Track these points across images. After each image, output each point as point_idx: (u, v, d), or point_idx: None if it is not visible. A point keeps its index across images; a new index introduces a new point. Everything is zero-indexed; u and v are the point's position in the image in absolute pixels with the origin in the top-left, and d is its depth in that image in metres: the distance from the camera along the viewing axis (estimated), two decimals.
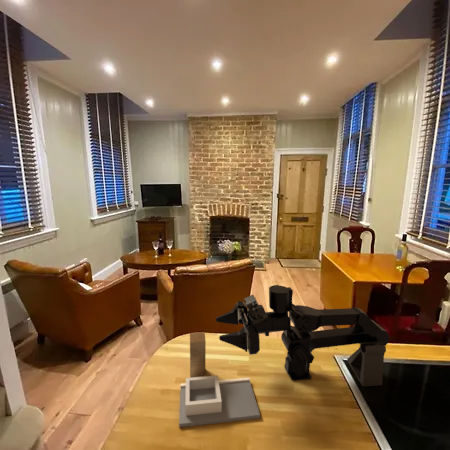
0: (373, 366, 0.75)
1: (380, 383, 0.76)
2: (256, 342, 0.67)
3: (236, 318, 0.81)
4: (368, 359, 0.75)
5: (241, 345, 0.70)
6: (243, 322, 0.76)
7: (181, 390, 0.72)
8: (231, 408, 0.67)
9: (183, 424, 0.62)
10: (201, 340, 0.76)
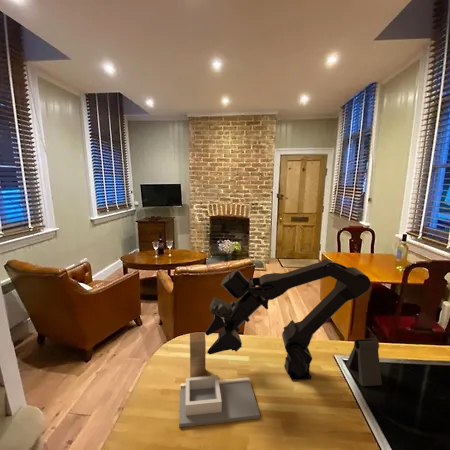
0: (369, 363, 0.77)
1: (379, 382, 0.76)
2: (231, 339, 0.69)
3: (221, 321, 0.83)
4: (363, 355, 0.77)
5: (227, 347, 0.72)
6: (224, 323, 0.79)
7: (181, 390, 0.72)
8: (231, 408, 0.67)
9: (183, 424, 0.62)
10: (201, 340, 0.76)
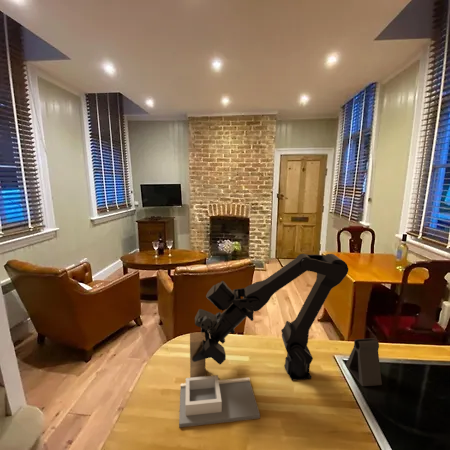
0: (369, 363, 0.77)
1: (379, 382, 0.76)
2: (215, 352, 0.69)
3: (208, 336, 0.81)
4: (363, 355, 0.77)
5: None
6: None
7: (181, 390, 0.72)
8: (231, 408, 0.67)
9: (183, 424, 0.62)
10: (201, 340, 0.76)
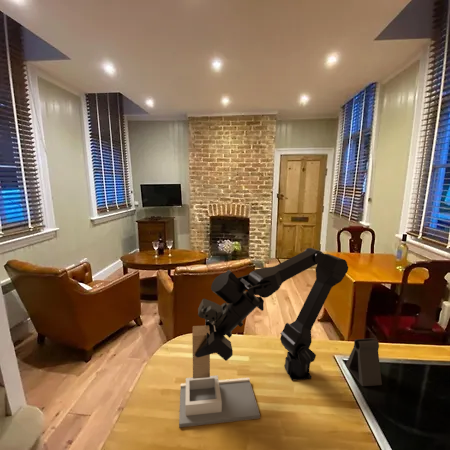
0: (369, 363, 0.77)
1: (379, 382, 0.76)
2: (221, 347, 0.60)
3: (213, 329, 0.73)
4: (363, 355, 0.77)
5: None
6: None
7: (181, 390, 0.72)
8: (231, 408, 0.67)
9: (183, 424, 0.62)
10: (205, 333, 0.68)
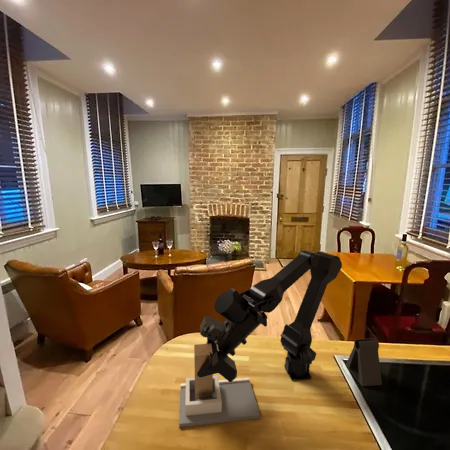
0: (369, 363, 0.77)
1: (379, 382, 0.76)
2: (225, 369, 0.58)
3: (216, 346, 0.70)
4: (363, 355, 0.77)
5: None
6: None
7: (181, 390, 0.72)
8: (231, 408, 0.67)
9: (183, 424, 0.62)
10: (207, 353, 0.65)
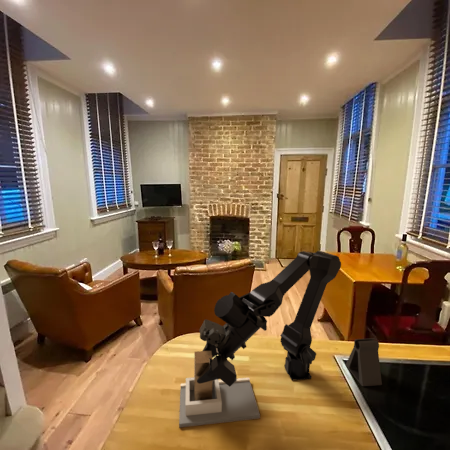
0: (369, 363, 0.77)
1: (379, 382, 0.76)
2: (224, 373, 0.58)
3: (215, 348, 0.71)
4: (363, 355, 0.77)
5: None
6: None
7: (181, 390, 0.72)
8: (231, 408, 0.67)
9: (183, 424, 0.62)
10: (207, 361, 0.66)
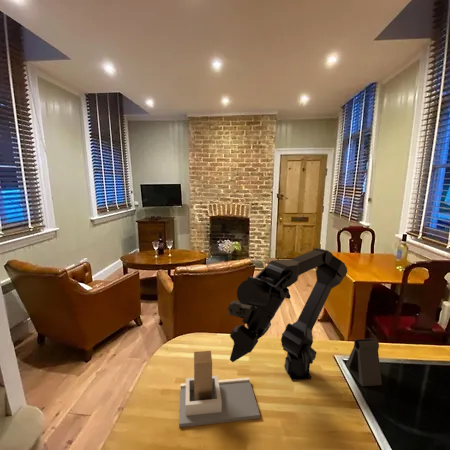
0: (369, 363, 0.77)
1: (379, 382, 0.76)
2: (240, 336, 0.61)
3: None
4: (363, 355, 0.77)
5: (245, 350, 0.64)
6: None
7: (181, 390, 0.72)
8: (231, 408, 0.67)
9: (183, 424, 0.62)
10: (207, 361, 0.66)
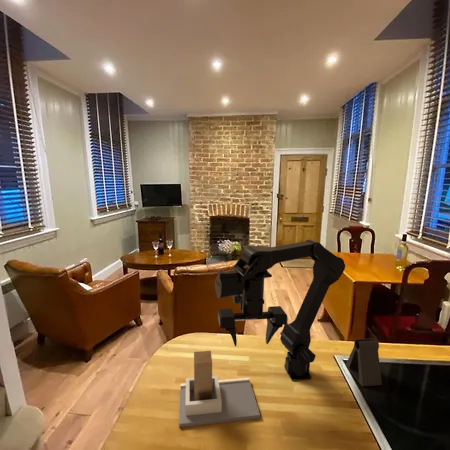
0: (369, 363, 0.77)
1: (379, 382, 0.76)
2: (218, 315, 0.72)
3: (270, 323, 0.73)
4: (363, 355, 0.77)
5: None
6: None
7: (181, 390, 0.72)
8: (231, 408, 0.67)
9: (183, 424, 0.62)
10: (207, 361, 0.66)
